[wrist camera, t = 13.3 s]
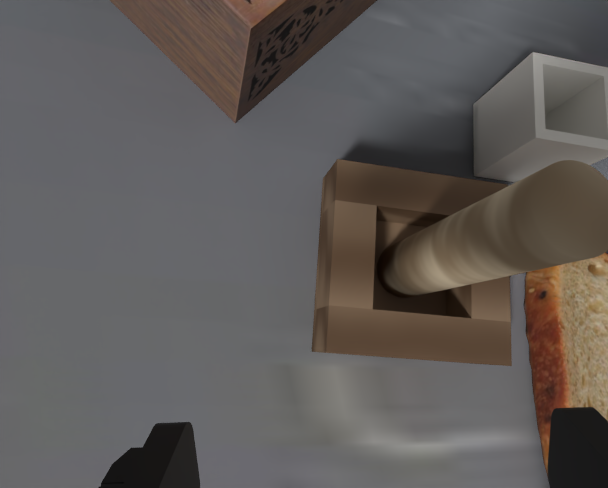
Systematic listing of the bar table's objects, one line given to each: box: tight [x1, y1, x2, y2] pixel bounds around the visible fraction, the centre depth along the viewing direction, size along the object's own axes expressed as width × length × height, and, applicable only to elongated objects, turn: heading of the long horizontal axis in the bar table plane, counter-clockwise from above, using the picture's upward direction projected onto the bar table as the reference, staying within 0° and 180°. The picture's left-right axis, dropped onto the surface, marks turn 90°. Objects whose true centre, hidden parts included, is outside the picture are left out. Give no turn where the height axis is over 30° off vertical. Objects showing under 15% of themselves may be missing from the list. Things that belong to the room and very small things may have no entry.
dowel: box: [377, 160, 608, 298], centre depth 24 cm, size 4×4×15 cm
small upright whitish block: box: [473, 52, 608, 183], centre depth 32 cm, size 6×6×7 cm
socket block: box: [312, 159, 512, 366], centre depth 30 cm, size 11×11×4 cm
